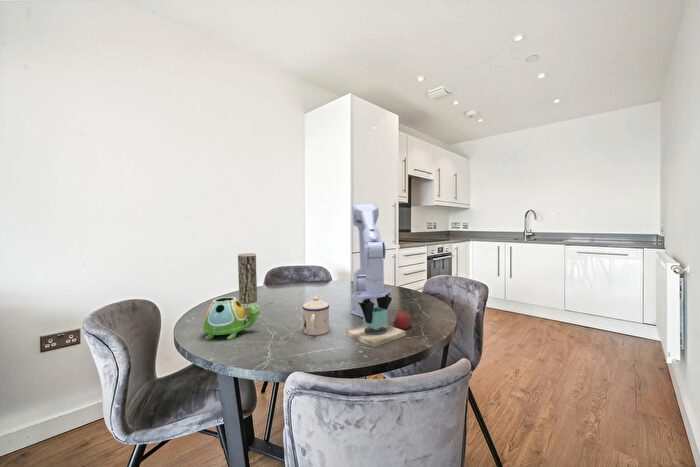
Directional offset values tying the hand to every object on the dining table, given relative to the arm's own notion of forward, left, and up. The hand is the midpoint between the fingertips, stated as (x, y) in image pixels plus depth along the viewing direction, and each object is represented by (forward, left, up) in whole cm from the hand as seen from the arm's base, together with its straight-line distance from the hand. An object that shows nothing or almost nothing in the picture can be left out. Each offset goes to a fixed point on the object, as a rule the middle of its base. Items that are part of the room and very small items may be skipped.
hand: (375, 320), depth 97 cm
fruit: (+2, +13, -5) cm, 14 cm away
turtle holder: (-34, -35, -5) cm, 49 cm away
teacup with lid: (-15, -13, -5) cm, 21 cm away
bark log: (-49, -23, -5) cm, 55 cm away
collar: (0, 0, -1) cm, 1 cm away
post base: (0, 0, -5) cm, 5 cm away
